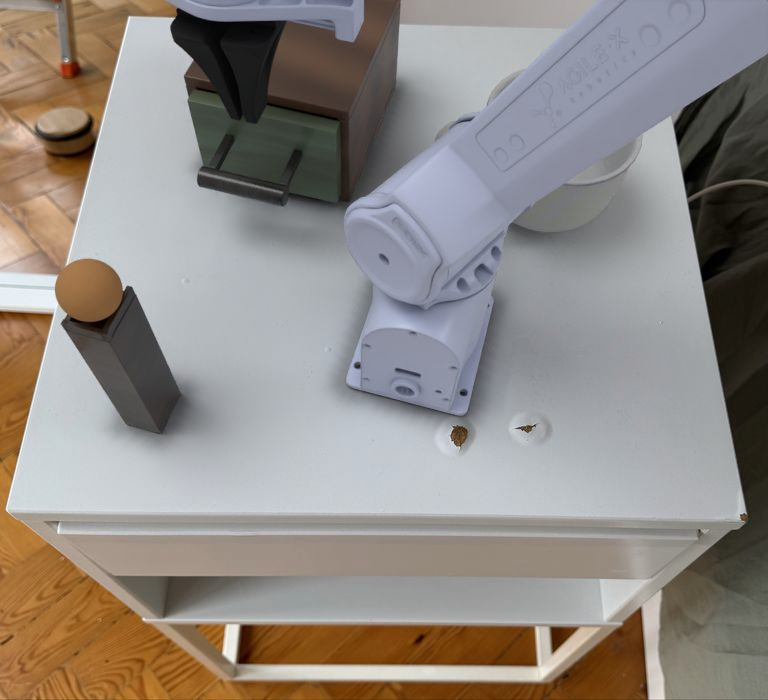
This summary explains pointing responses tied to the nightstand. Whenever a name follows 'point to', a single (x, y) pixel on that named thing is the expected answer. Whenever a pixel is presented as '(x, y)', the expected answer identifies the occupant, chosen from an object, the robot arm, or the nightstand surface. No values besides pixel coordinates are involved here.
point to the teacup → (574, 186)
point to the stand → (128, 363)
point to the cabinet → (335, 79)
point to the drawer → (267, 152)
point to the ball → (88, 290)
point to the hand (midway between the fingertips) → (248, 111)
